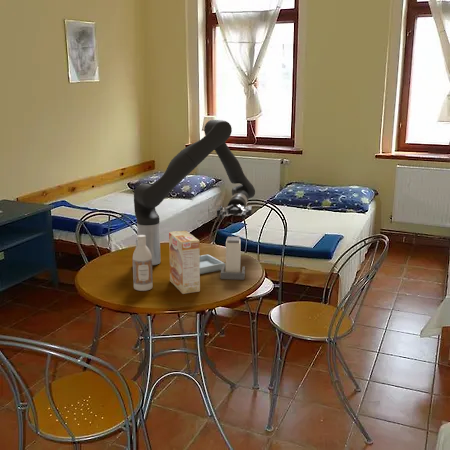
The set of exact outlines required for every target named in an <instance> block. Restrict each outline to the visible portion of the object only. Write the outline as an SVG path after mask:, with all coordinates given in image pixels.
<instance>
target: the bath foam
mask: <svg viewBox="0 0 450 450" xmlns="http://www.w3.org/2000/svg"><path fill="white" fill-rule="evenodd" d="M136 239H137V240H138V246H137V248H136V247H135V249H134V251H133V254H132V278H133V289H134V290H136V291H138V292H139V291H140V292H147V291H149V290H151V289H153V286H154V285H153V283H154V282H153V265H152V255H151V252H150V250H149V249H148V247H147V246H146V236H145V235H137V238H136Z"/></svg>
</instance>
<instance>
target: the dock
mask: <svg viewBox="0 0 450 450" xmlns="http://www.w3.org/2000/svg"><path fill="white" fill-rule="evenodd" d="M241 269H242V270H241V272H240V273H238V272H226V271H225V270H226V265H225V266H222V268H221V270H220V280H241V281H242V280H245V276H246V266H244V265H243V266H242V268H241Z"/></svg>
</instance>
